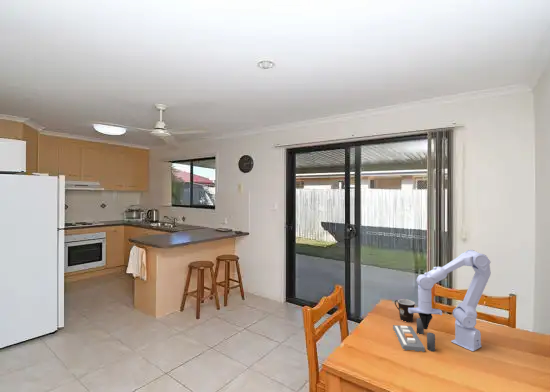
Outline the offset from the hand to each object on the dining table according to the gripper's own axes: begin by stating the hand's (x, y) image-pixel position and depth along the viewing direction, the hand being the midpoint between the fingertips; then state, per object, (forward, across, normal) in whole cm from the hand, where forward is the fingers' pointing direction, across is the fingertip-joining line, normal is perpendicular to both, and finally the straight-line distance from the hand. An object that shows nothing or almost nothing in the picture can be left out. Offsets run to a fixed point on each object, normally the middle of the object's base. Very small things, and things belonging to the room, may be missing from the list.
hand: (425, 328), depth 133 cm
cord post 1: (+6, 0, -8) cm, 10 cm away
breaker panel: (+6, +8, 0) cm, 10 cm away
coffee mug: (+6, +3, -24) cm, 25 cm away
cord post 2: (+6, 0, +8) cm, 10 cm away
